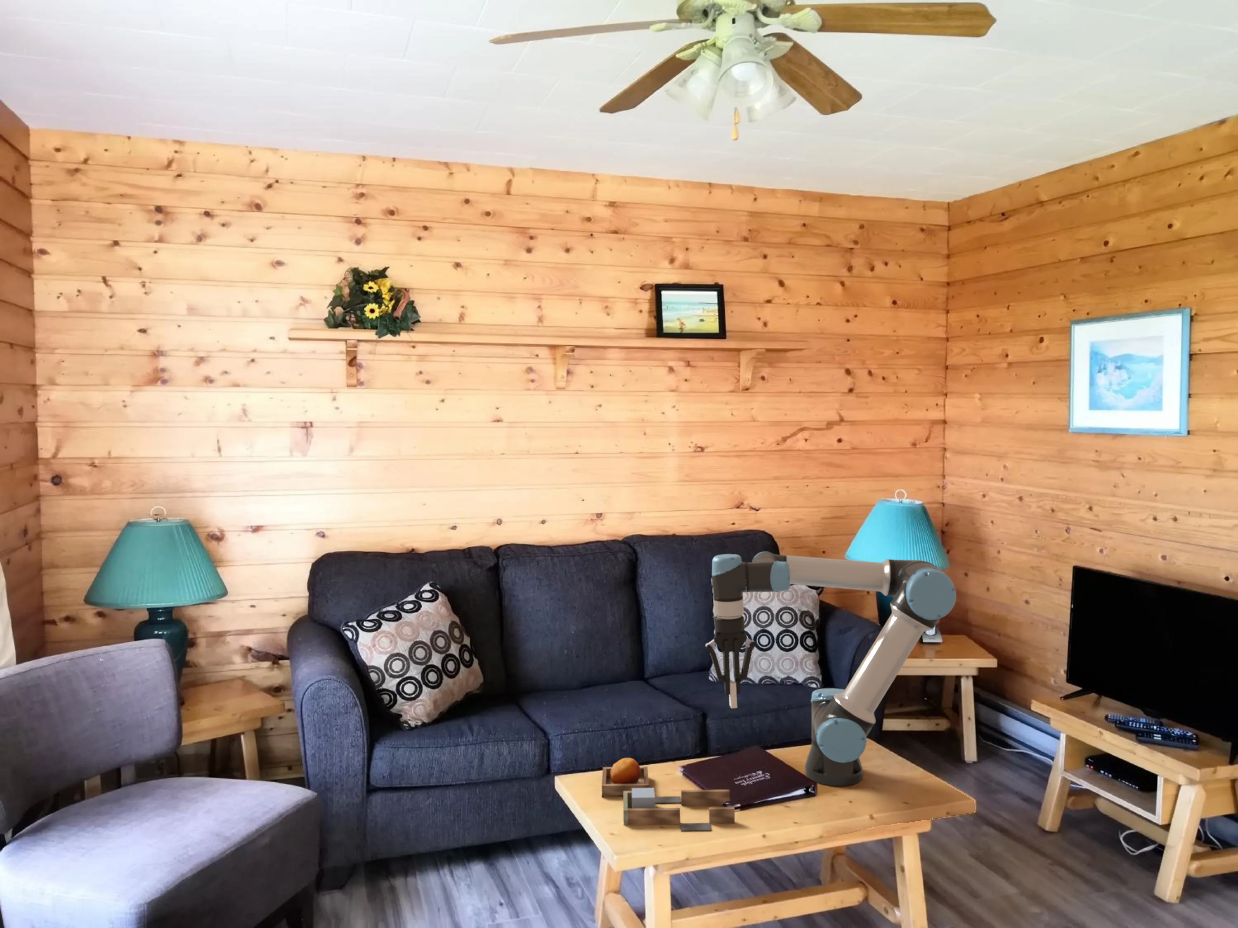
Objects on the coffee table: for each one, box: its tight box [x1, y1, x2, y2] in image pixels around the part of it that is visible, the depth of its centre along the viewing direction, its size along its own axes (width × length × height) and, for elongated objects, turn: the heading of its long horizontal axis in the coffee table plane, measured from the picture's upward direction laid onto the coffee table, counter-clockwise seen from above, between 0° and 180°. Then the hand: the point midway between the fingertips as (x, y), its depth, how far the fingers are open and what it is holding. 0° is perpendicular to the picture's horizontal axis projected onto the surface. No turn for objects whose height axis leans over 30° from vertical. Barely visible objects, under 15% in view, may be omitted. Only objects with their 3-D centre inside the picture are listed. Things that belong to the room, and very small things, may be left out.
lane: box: [622, 789, 736, 832], centre depth 222 cm, size 26×18×4 cm
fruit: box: [610, 757, 641, 784], centre depth 238 cm, size 8×8×8 cm
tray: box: [601, 766, 650, 798], centre depth 238 cm, size 12×12×3 cm
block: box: [631, 787, 656, 809], centre depth 222 cm, size 6×6×6 cm
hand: (733, 706), depth 233 cm, fingers closed
